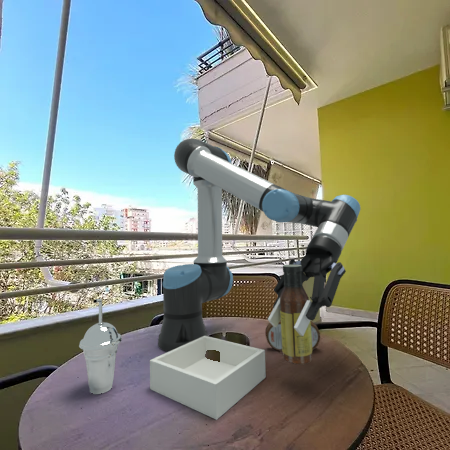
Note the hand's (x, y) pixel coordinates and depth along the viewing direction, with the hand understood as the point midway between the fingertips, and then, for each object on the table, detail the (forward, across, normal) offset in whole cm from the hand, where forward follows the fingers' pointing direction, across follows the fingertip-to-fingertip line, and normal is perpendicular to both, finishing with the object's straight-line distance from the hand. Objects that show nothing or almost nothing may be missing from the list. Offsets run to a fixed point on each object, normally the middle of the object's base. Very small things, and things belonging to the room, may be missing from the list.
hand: (284, 327), depth 57 cm
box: (+16, +14, -3) cm, 21 cm away
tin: (-4, +13, -23) cm, 26 cm away
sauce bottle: (+3, 0, -8) cm, 8 cm away
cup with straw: (+30, +27, +10) cm, 42 cm away
